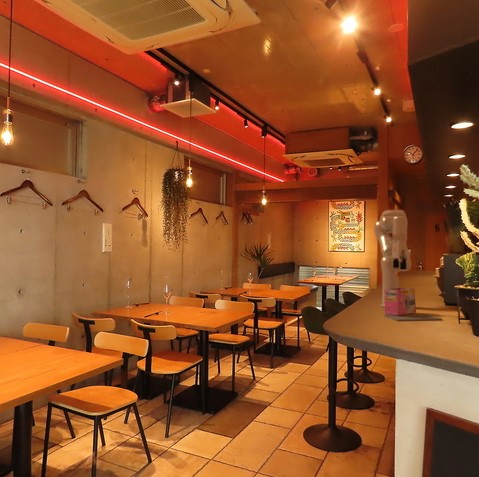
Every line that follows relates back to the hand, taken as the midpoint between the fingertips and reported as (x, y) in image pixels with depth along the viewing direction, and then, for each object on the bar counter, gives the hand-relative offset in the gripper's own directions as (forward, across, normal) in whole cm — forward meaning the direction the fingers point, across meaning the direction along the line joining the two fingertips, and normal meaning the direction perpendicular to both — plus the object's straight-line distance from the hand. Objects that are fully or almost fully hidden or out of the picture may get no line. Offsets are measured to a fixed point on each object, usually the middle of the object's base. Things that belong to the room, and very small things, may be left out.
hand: (399, 268), depth 230 cm
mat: (+24, +17, 0) cm, 30 cm away
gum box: (+24, +6, -2) cm, 25 cm away
